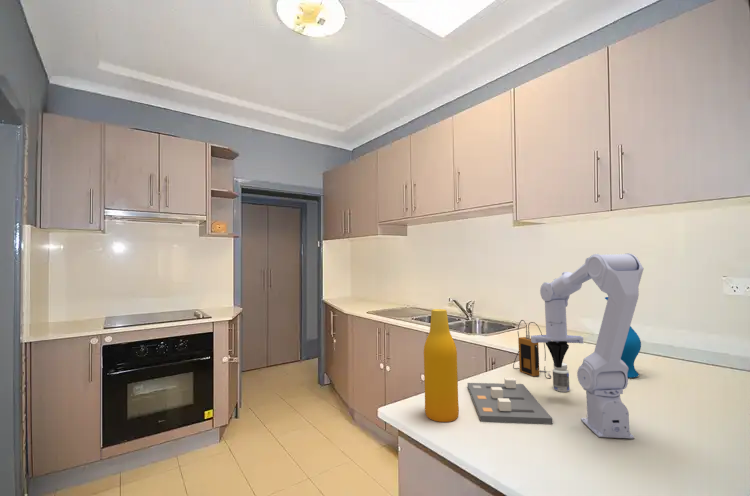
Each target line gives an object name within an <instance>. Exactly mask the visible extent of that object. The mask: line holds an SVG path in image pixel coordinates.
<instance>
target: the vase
mask: <svg viewBox="0 0 750 496" xmlns="http://www.w3.org/2000/svg"><path fill="white" fill-rule="evenodd" d="M604 299H605V300H606V302H607V301H608V296H606V297H605V296H604ZM641 349H642V341H641V338H640V336H639V335H638V333H637V332H636V331H635V330H634V328H633V327H632V326H631V325H630V328H629V331H628V335H627V338H626V342H625V345H624V349H623V352H622V356H621V360H622V361H623V362H624V363H625V364H626V365H627V367H628V368H629V369H628V373H627V377H628V379H632V378H633V379H634V378H637V377H639V376H640V374H639V372H638V371H637V370H636V369H635V360H636V358H637V357H638V355H639V353H640V351H641Z"/></svg>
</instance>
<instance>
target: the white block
mask: <svg viewBox="0 0 750 496" xmlns="http://www.w3.org/2000/svg"><path fill="white" fill-rule="evenodd" d="M497 399H498V409H499V410H500V411H511V401H510V400H509V398H497Z"/></svg>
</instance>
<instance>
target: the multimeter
mask: <svg viewBox="0 0 750 496" xmlns="http://www.w3.org/2000/svg"><path fill="white" fill-rule="evenodd" d="M521 322H524V324H525V330H526V331H525V333H526V334H525V336H523V337H521V336H520V333H519V332H517V336H518V339H517V341H518V342H517V343H518V351H517V353H516V356H515V358H514V361H513V364H512V368H513V369H514V370H516V369H517V370H518V369H519V372H520V373H524V374H527V375H529V376H531V377H539V376H540V373H547V376H548V377H547V376H546V374H544V377H545V379H549V380H550V379H551V378H552V375H551V374H550V371H548V370H546V367H544V369H543V370H540V356H539V355H540V351H539V348H540V347H539V343H532V342H531V335H530V324H532V323H533V324H535V325H536V326H537V328H538V330H539V332H540V335H543V333H542V331H541V329H540V327H539V325H538V324H537V323H536V322H534V321H530V322H529V323H528V326H527V323H526V321H525V320H524V319H521V320H520V321H519V323H518V326H517V329H519V327H520V325H521ZM543 347H544V348H543V349H546V343H543ZM546 356H547V355H546V350H544V360H546ZM517 358H518V361H519V363H518V364H519V366H518V367H517V368H516V367H515V363H516V360H517Z"/></svg>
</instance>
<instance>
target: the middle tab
mask: <svg viewBox="0 0 750 496" xmlns="http://www.w3.org/2000/svg"><path fill="white" fill-rule="evenodd" d="M491 396H492V398H503V389H502V388H501V387H491Z"/></svg>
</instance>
